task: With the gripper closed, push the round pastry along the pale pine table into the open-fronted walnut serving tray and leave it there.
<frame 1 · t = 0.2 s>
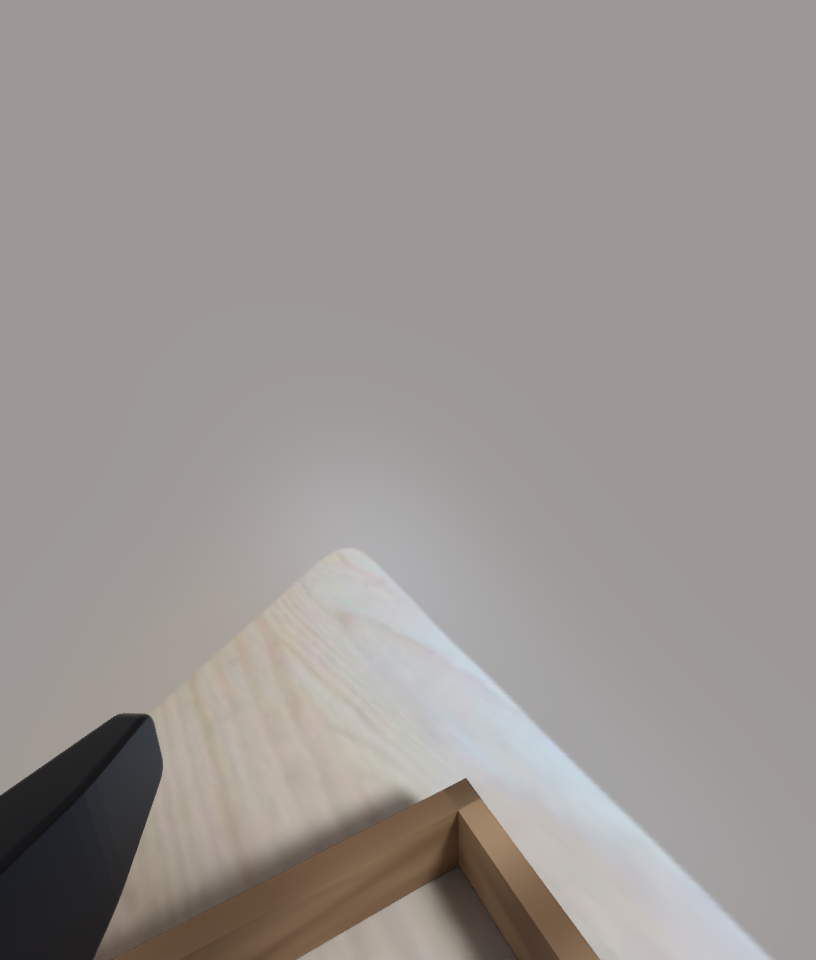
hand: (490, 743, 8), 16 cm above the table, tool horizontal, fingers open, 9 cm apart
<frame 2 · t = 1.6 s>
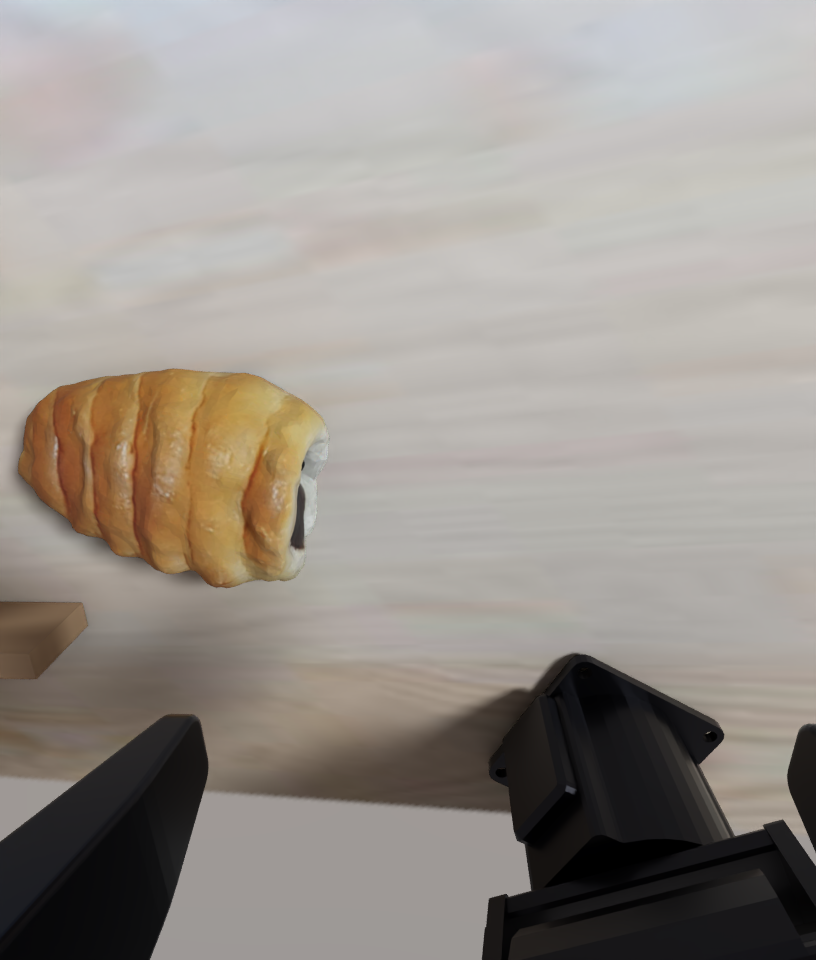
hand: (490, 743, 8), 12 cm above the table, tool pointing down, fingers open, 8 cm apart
pastry: (213, 464, 20), on the table
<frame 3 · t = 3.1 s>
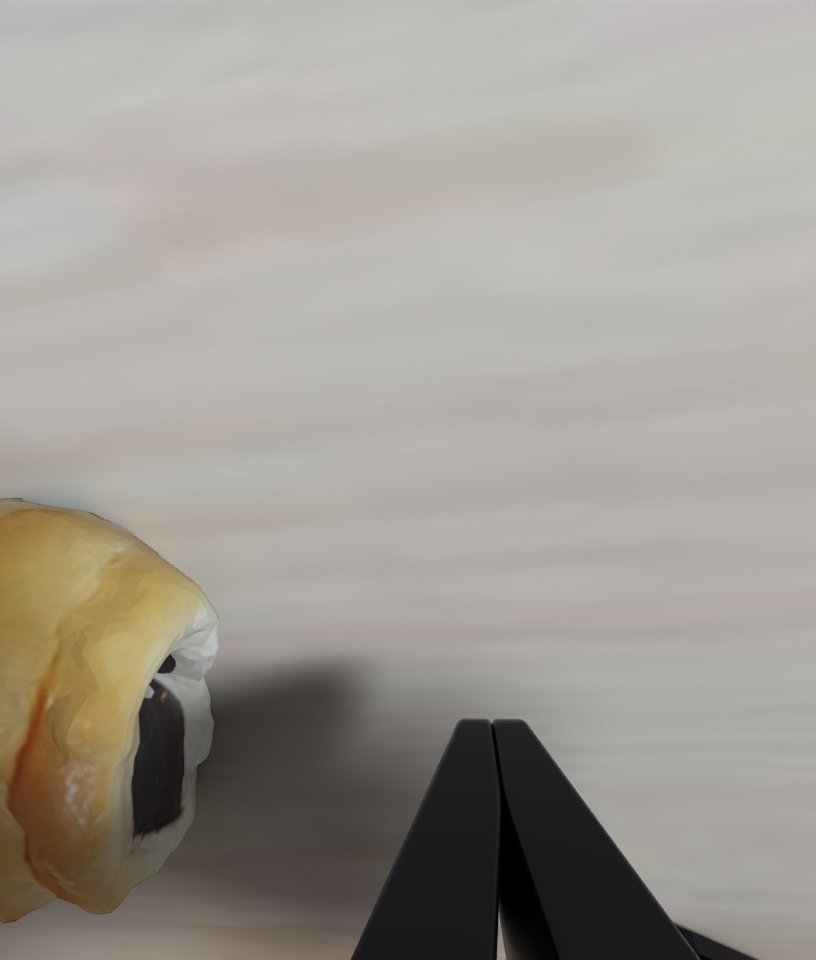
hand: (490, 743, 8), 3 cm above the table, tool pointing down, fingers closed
pastry: (29, 641, 11), on the table
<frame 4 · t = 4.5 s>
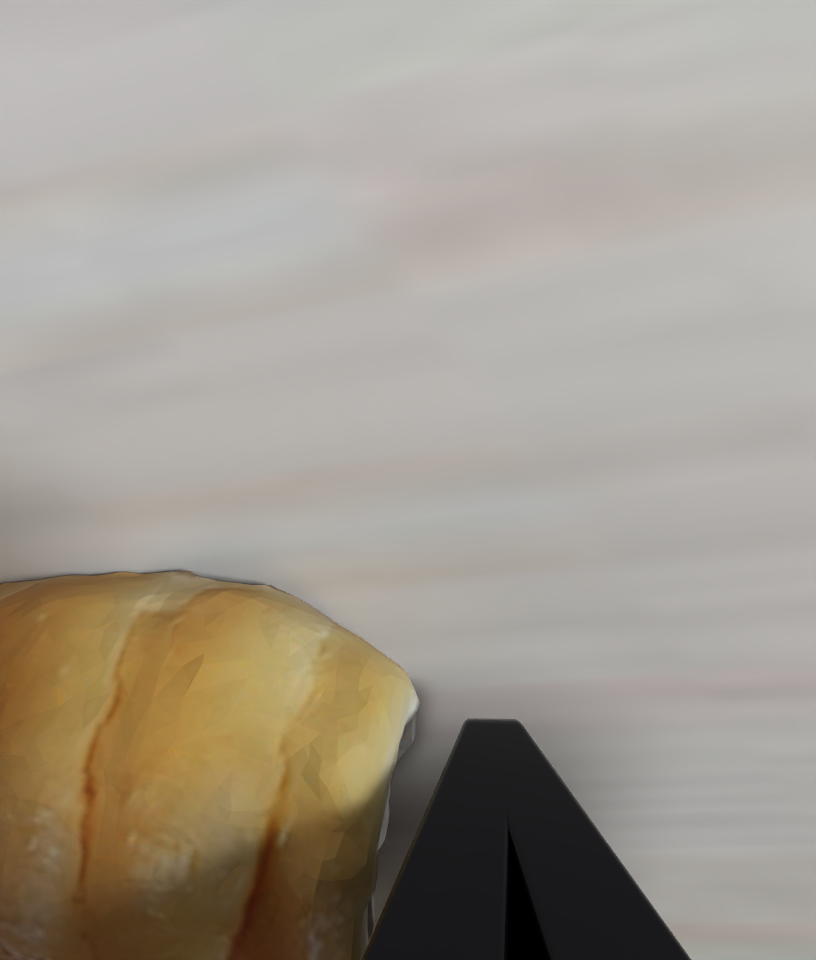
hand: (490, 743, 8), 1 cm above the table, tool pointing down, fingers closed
pastry: (174, 723, 10), on the table, touching gripper
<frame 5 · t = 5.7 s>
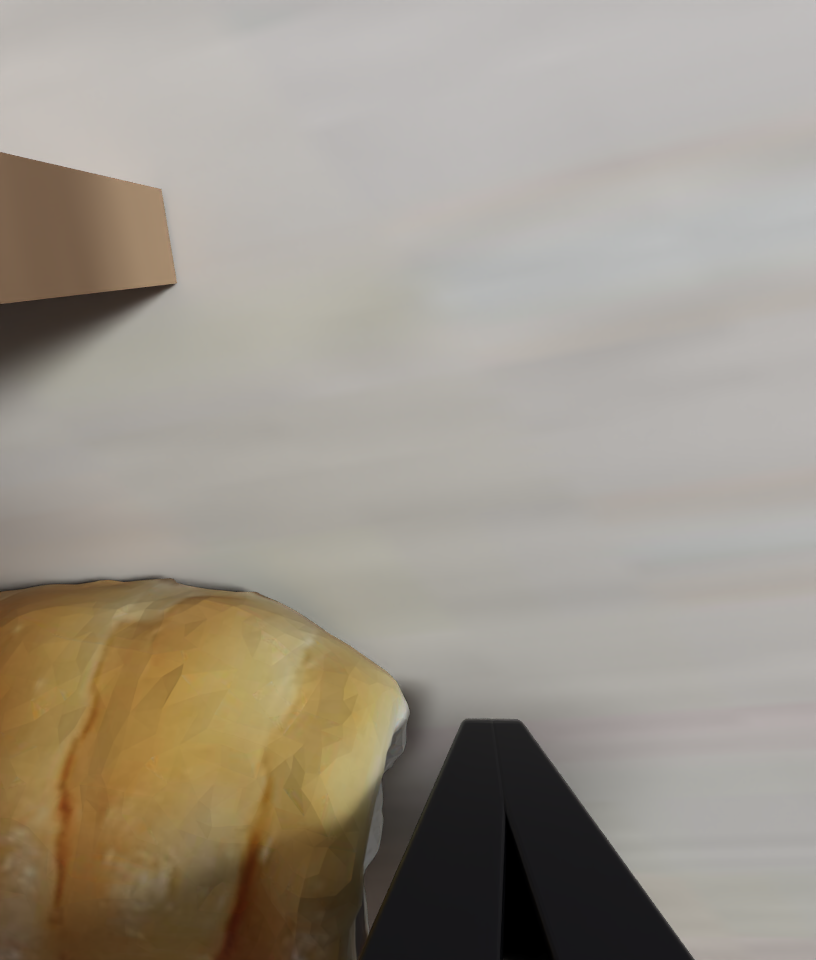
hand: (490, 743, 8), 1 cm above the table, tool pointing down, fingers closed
pastry: (163, 733, 10), on the table, touching gripper
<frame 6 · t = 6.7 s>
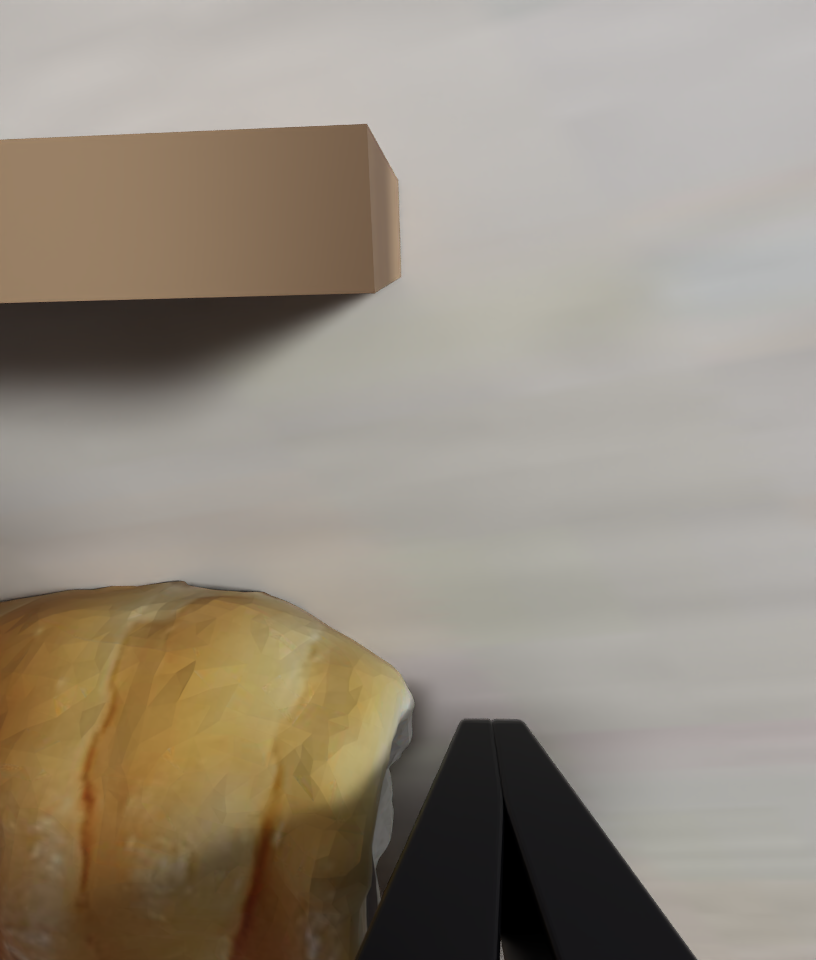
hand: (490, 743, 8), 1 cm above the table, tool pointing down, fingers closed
pastry: (179, 732, 10), on the table
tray: (77, 676, 9), on the table
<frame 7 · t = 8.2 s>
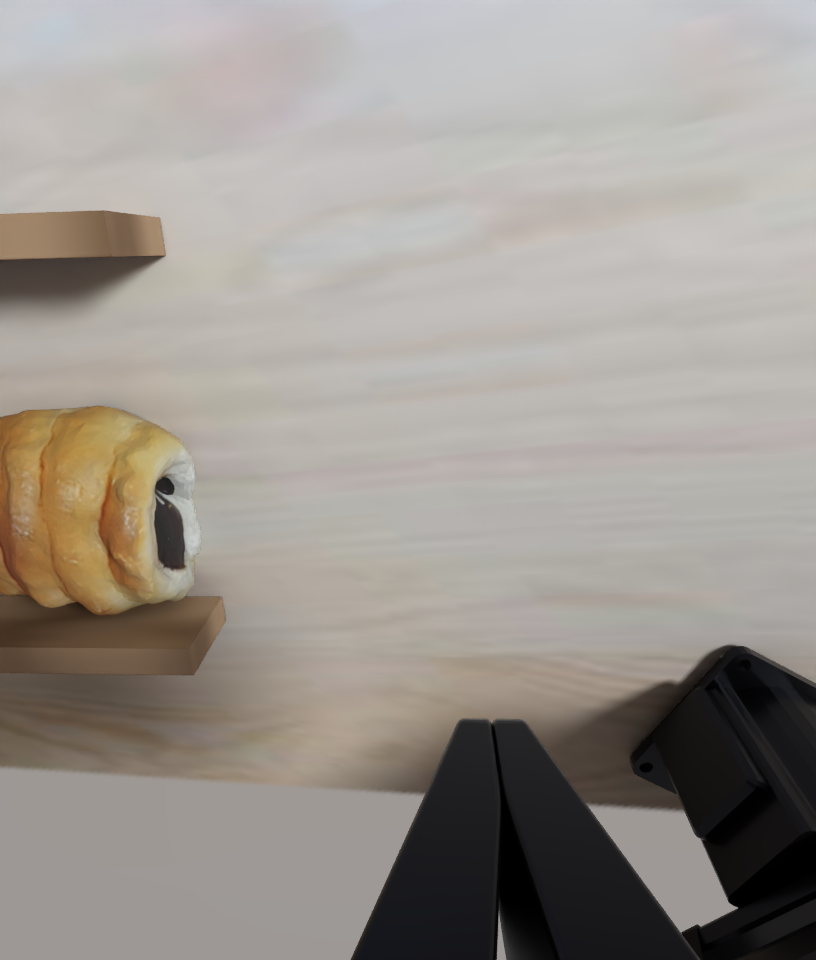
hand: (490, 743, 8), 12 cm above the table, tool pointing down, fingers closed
pastry: (97, 495, 20), on the table
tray: (41, 446, 19), on the table
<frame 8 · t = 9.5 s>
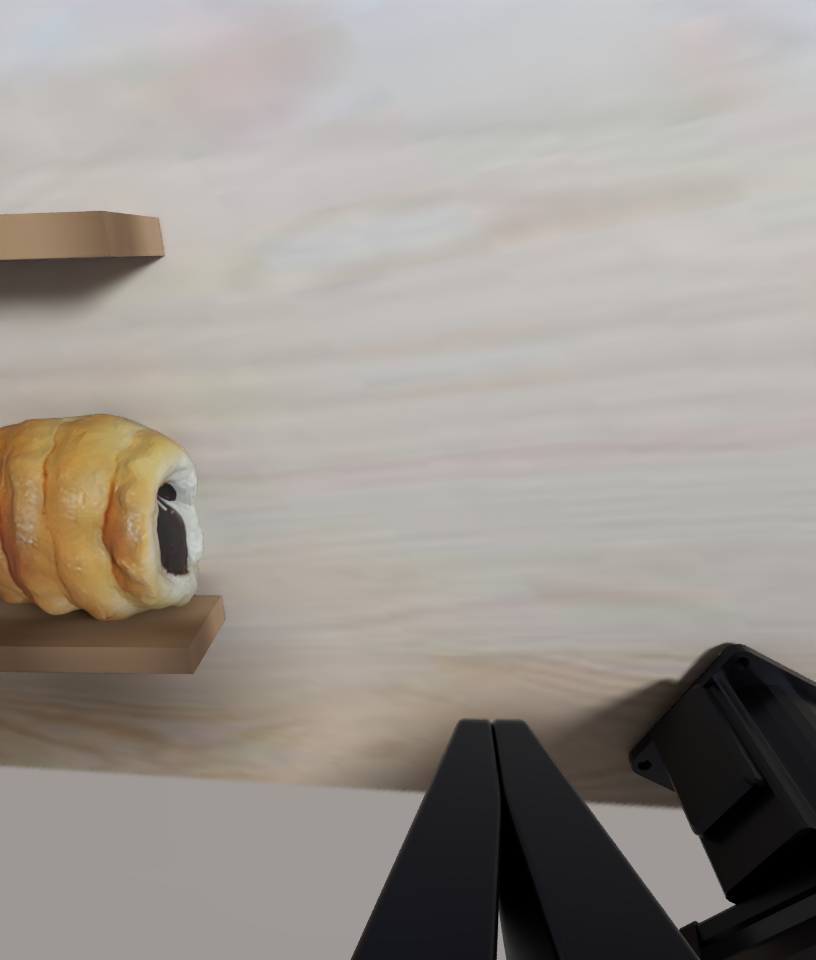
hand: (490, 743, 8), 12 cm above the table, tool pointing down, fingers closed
pastry: (100, 503, 21), on the table
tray: (41, 445, 19), on the table
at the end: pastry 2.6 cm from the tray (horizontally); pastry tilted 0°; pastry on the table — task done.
